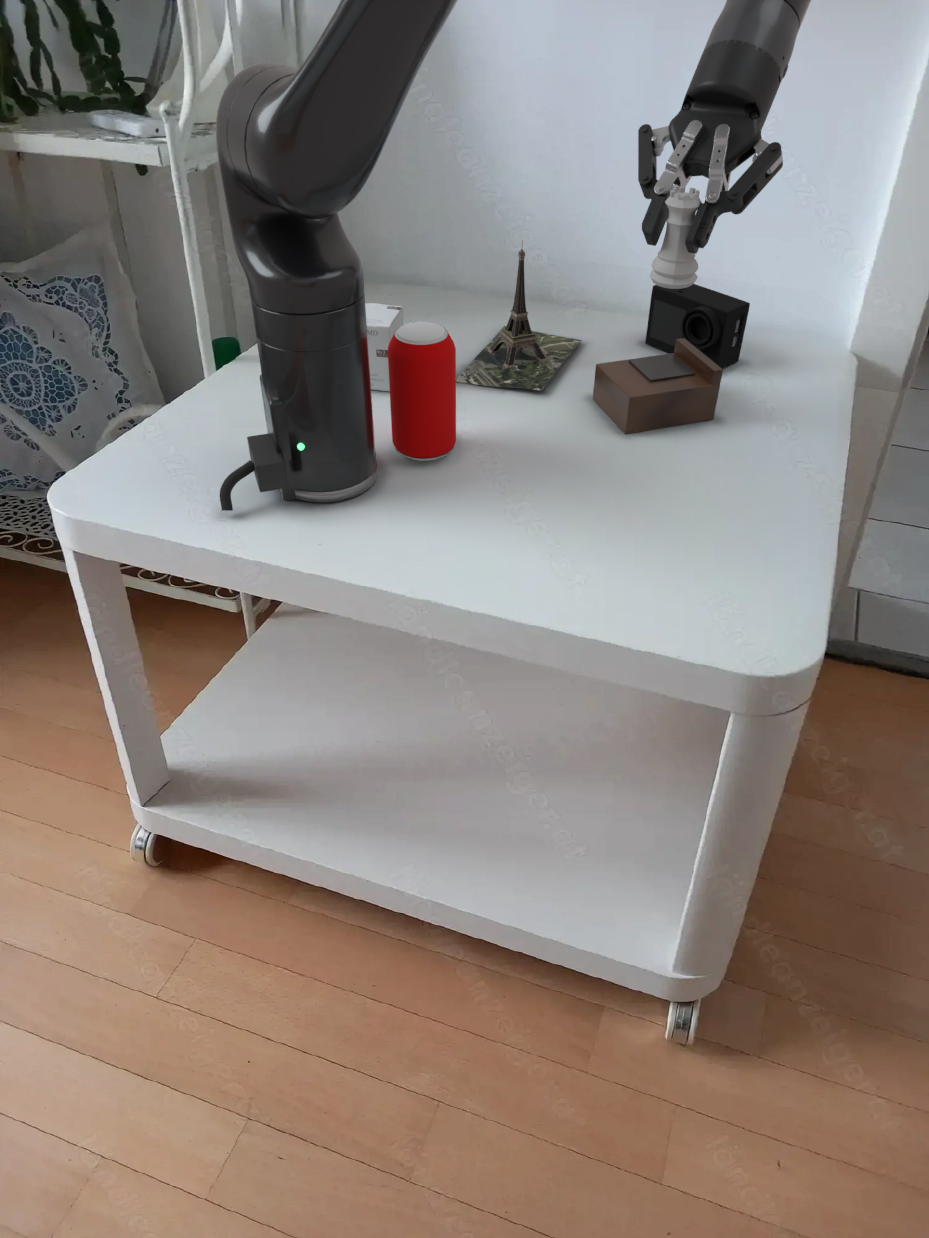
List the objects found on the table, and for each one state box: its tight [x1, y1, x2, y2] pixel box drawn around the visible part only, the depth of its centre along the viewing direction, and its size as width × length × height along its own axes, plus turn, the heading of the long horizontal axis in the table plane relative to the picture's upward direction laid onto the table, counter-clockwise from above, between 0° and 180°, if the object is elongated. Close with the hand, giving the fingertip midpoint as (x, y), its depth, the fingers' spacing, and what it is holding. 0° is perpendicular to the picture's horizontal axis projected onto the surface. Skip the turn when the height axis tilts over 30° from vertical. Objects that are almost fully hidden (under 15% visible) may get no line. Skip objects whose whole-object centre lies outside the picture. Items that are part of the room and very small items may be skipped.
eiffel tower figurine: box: [456, 239, 583, 391], centre depth 102 cm, size 15×10×13 cm
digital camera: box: [644, 283, 751, 370], centre depth 106 cm, size 10×5×7 cm, turn 42°
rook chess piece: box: [649, 187, 703, 289], centre depth 85 cm, size 4×4×8 cm
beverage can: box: [388, 321, 457, 462], centre depth 87 cm, size 6×6×12 cm
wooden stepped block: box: [592, 338, 724, 435], centre depth 96 cm, size 10×8×6 cm
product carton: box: [365, 302, 404, 392], centre depth 101 cm, size 6×6×7 cm
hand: (670, 244), depth 84 cm, fingers closed on rook chess piece, 3 cm apart
